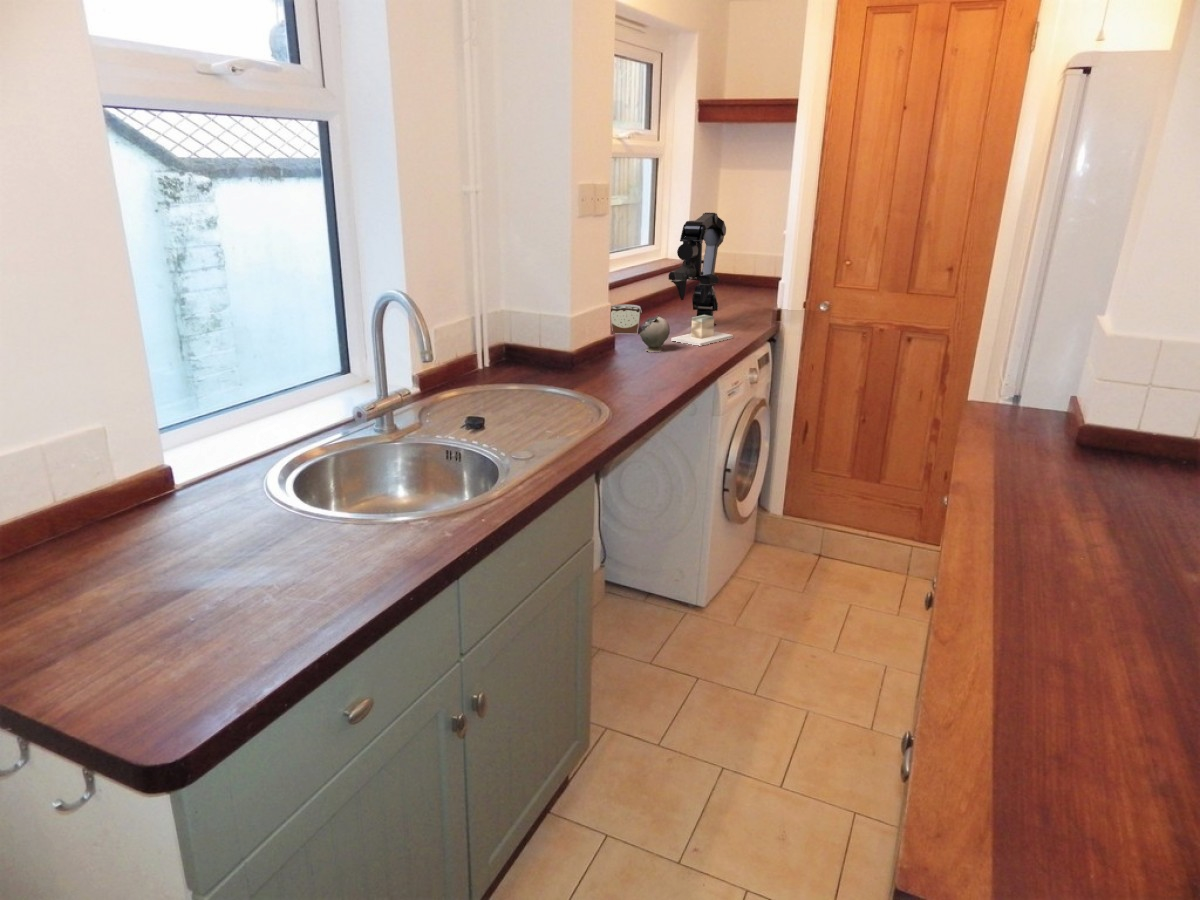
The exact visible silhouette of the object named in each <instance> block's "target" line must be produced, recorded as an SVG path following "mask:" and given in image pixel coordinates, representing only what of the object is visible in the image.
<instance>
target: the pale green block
mask: <svg viewBox="0 0 1200 900" xmlns="http://www.w3.org/2000/svg"><path fill="white" fill-rule="evenodd" d="M714 324H715V316H714V315H713V316H709V315H701V316H692V317H691V331H690V333H691V337H694V338H699V339H703V338H707V337H711V336H713V332H715V330H714V329H715V327H714Z"/></svg>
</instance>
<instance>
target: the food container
mask: <svg viewBox="0 0 1200 900" xmlns="http://www.w3.org/2000/svg"><path fill="white" fill-rule="evenodd" d="M611 307H612V309H611V316H610V323H611V332H612V331H613V333H615V334H614V335H639V333H638V332H639V326H640V325H639V324H640V316H641V314H642V313H643V312H642V308H641V306H640V305H637V304H613V305H611Z"/></svg>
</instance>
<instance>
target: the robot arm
mask: <svg viewBox="0 0 1200 900" xmlns="http://www.w3.org/2000/svg"><path fill="white" fill-rule="evenodd" d="M726 234H727V226H726V224H725V221H724V220H723V219H722V218H720V217H719V216H718V213H717V212H704V213H702V215H701V216H699V217H698V218H697V219H695V220H687V221H685V223H684V224H683V226H682V231H681V235H680V239H679V241H680V242H682V244H680V245H679V246H678V247H677V251H676V252H677V253H676V254H677V257H678V258H679V259H680V260H681V261H682V265H681V266H680V267H678V268H677V269H674V271H669V274H668V277H667V279H668V280H669V281H670V282H671V283H673V284H674V286H676V288H677V292H678V294H679V295H678V296H679V298H680V301H684V299H685V294H686V290H687V289H686V287H687V282H688V280H691V281H698V282H699V283H698V285H697V284H696V285H695V287H694V293H693V295H692V299H691V300H692V301H691V302H692V310H693V311H696V316H701V315H709V316H714V312H715V311H719V310H718V309H719V308H718V307H719V306H718V305H719V304H718V300H717V295H716V291H715V288H714V286H715V285H716V284H718V283H719V276H718V275H717V274H715V269H716V263H717V256H718V249H719V247H720V245H721V244H722V243H723V242H724V239H725V236H726ZM703 242H704V243H705V249H704V256H703ZM702 257H704V258H702ZM696 316H695V317H696ZM714 326H717V324H716V323H714Z"/></svg>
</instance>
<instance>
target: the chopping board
mask: <svg viewBox="0 0 1200 900" xmlns="http://www.w3.org/2000/svg"><path fill="white" fill-rule="evenodd" d="M733 338H734V335H733V334H729V333H724V332H718V331H714V332H713V336H711V337H707V338H703V339H699V338H694V337H691V332H690V333H686V334H682V335H678V336H673V337H670V339H671V340H670V342H672V341H676V342H675V343H677V342H681V343H680V344H683V343H688V344H692V345H691V346H693V345H699V346H702V345H706V344H709V345H711V344H710V343H713V344H715V343H714V342H717V343H719V341H721V342H724V341H727V339H728V340H731V339H733ZM723 340H724V341H723ZM688 344H687V345H688ZM706 346H707V345H706ZM702 347H703V346H702Z"/></svg>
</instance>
